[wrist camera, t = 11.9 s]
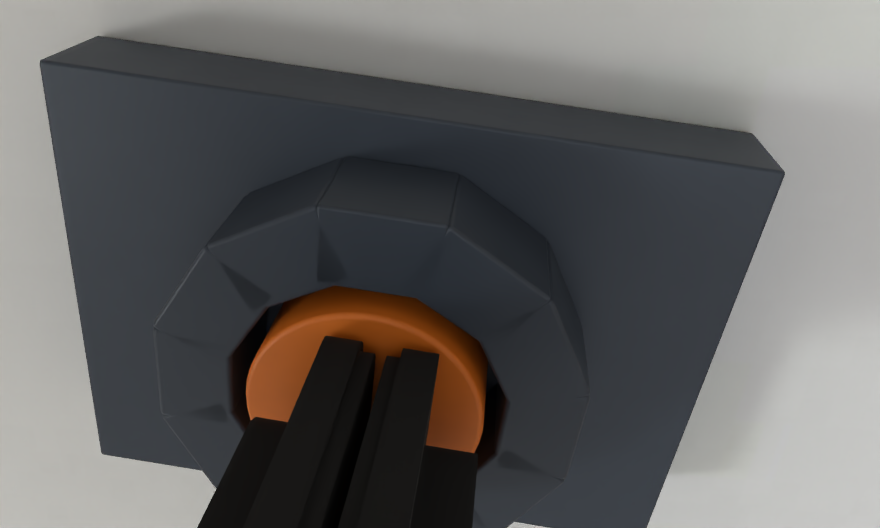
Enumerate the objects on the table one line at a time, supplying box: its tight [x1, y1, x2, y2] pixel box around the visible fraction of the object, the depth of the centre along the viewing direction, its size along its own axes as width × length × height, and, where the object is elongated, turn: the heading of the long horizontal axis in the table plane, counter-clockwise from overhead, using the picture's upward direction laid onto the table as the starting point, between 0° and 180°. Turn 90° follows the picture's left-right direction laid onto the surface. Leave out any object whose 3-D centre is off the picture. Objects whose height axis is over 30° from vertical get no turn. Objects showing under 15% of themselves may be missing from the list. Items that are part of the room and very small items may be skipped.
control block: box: [40, 36, 785, 528], centre depth 12 cm, size 11×8×4 cm
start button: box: [246, 286, 488, 453], centre depth 11 cm, size 4×4×2 cm
